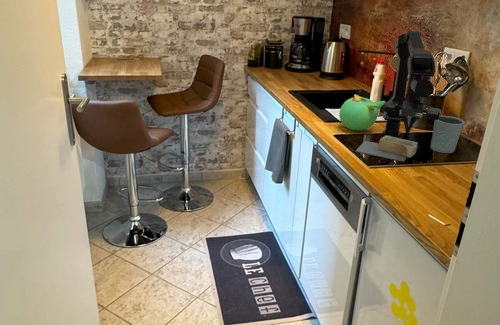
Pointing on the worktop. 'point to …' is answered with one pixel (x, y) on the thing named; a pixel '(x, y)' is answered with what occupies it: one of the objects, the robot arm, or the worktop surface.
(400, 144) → the skincare box
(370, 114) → the green teapot
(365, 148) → the mat
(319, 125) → the worktop surface
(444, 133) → the grey cup
